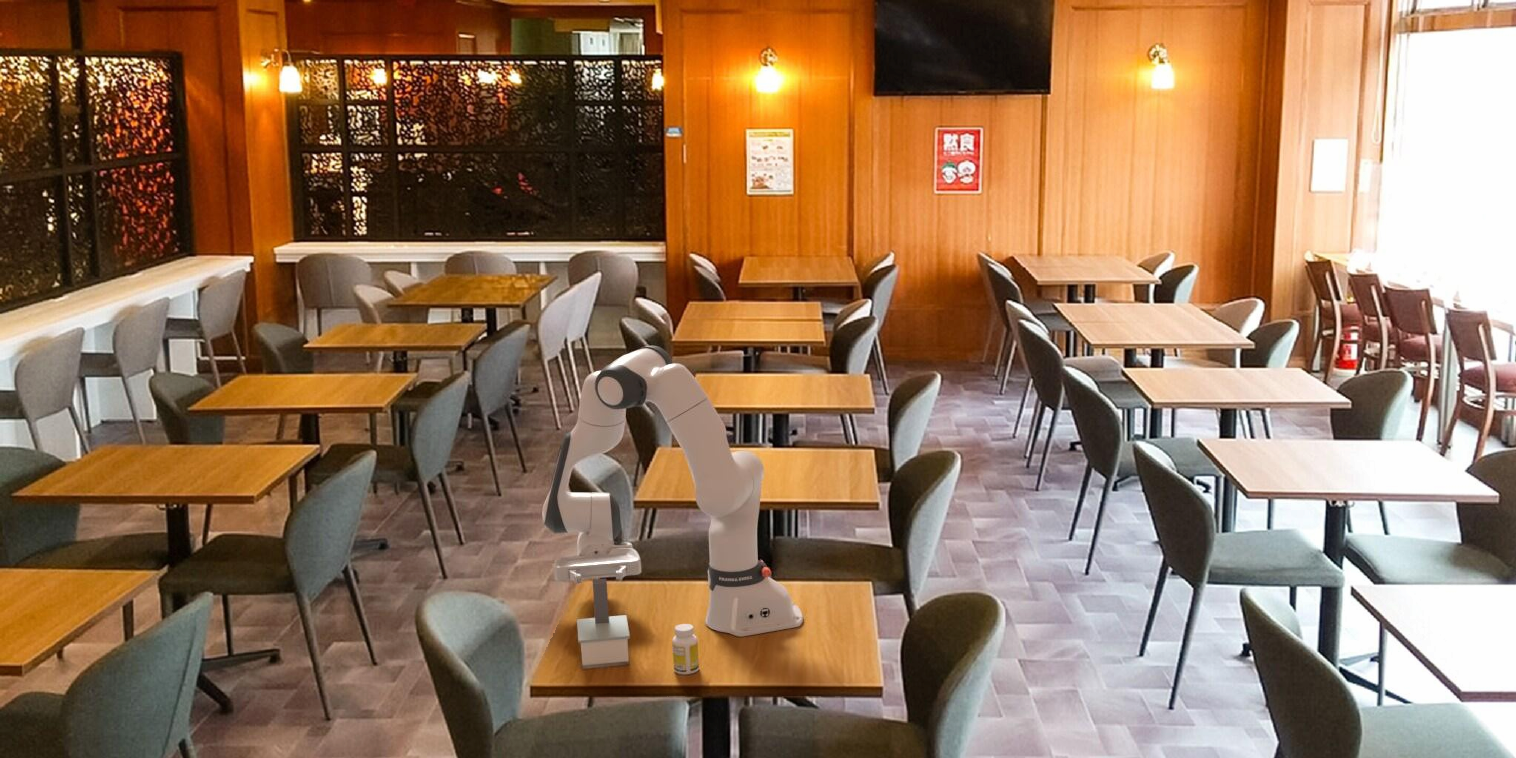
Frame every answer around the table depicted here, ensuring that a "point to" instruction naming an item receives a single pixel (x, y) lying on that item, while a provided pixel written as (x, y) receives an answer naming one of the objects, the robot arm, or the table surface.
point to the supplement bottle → (685, 650)
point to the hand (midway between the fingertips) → (598, 578)
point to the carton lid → (602, 619)
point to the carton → (604, 653)
